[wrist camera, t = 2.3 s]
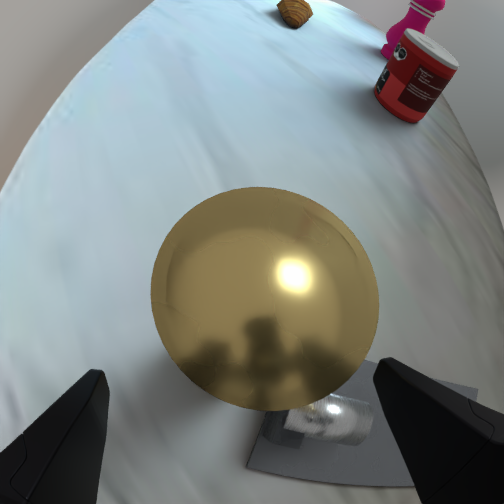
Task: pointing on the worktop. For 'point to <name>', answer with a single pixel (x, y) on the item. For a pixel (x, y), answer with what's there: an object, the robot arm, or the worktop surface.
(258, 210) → the gold flanged cylinder
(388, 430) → the shaft bed
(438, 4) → the pepper mill
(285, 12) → the croissant
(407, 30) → the canned food
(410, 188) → the worktop surface
